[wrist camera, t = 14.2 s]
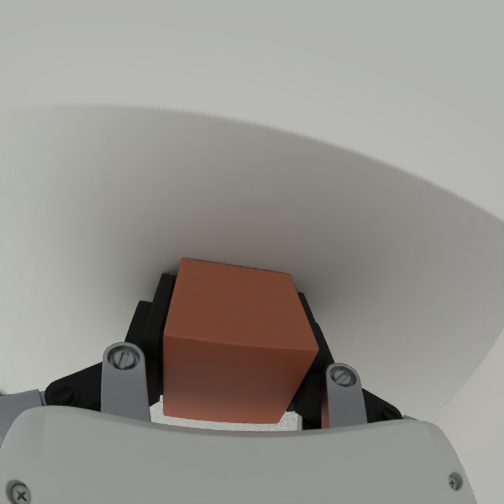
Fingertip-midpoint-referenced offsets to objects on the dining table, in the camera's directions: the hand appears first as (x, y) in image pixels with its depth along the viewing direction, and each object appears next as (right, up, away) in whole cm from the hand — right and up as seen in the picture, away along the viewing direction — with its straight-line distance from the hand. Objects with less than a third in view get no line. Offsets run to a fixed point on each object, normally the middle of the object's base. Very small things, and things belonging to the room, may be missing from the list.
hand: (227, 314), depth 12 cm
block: (0, 0, 0) cm, 0 cm away
